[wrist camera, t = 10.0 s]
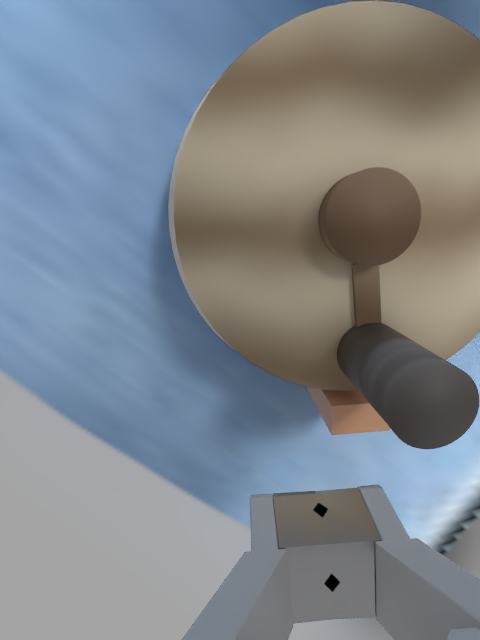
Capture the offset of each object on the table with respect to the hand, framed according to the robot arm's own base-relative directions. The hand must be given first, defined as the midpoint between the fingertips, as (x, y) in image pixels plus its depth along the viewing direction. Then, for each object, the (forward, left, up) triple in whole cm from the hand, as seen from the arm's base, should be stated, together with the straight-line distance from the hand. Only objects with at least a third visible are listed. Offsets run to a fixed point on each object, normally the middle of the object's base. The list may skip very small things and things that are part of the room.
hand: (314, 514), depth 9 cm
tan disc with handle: (-5, -6, -12) cm, 15 cm away
